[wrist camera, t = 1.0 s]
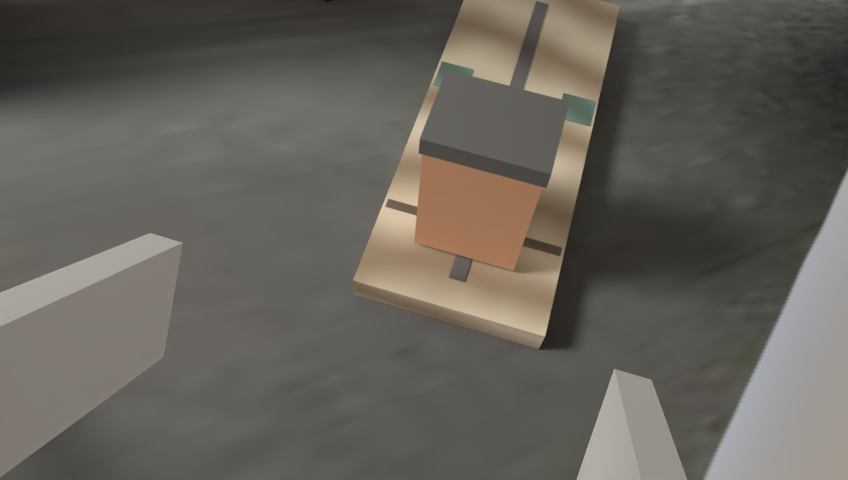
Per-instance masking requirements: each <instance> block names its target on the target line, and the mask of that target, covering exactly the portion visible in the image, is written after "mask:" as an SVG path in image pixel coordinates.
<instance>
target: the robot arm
mask: <svg viewBox="0 0 848 480" xmlns="http://www.w3.org/2000/svg"><path fill="white" fill-rule="evenodd" d="M181 249H182V242H178V241H175V240H171V239H168V238H165V237H161V236H158V235H154V234H151V233H149V234H147V235H144V236H142V237H139V238H137V239H134V240H132V241H129V242H127V243H124V244H122V245H119V246H117V247H114V248H112V249H109V250H107V251H104V252H102V253H99V254H97V255H94V256H91V257H89V258H86V259H84V260H81V261H79V262H76V263H74V264H71V265H69V266H66V267H64V268H61V269H59V270H56V271H54V272H51V273H49V274H46V275H44V276H41V277H39V278H36V279H34V280H31V281H29V282H26V283H23V284H21V285H18V286H16V287H13V288H11V289H8V290H6V291H3V292H1V293H0V477H1V476H2V475H4V474H5V473H7V472H8V471H9V470H11V469H12V468H13V467H15V466H16V465H17V464H19V463H20V462H22V461H23V460H24V459H26V458H27V457H28V456H30V455H31V454H32V453H34V452H35V451H36V450H38V449H39V448H41V447H42V446H43V445H45V444H46V443H47V442H49V441H50V440H51V439H53V438H54V437H55V436H57V435H58V434H60V433H61V432H62V431H64V430H65V429H66V428H68V427H69V426H70V425H72V424H73V423H74V422H76V421H77V420H79V419H80V418H81V417H83V416H84V415H85V414H87V413H88V412H89V411H91V410H92V409H93V408H95V407H96V406H98V405H99V404H100V403H102V402H103V401H104V400H106V399H107V398H108V397H110V396H111V395H112V394H114V393H115V392H117V391H118V390H119V389H121V388H122V387H123V386H125V385H126V384H127V383H129V382H130V381H131V380H133V379H134V378H136V377H137V376H138V375H140V374H141V373H142V372H144V371H145V370H146V369H148V368H149V367H151V366H152V365H153V364H155V363H156V362H157V361H159V360H160V359H161V358H163V357H164V351H165V345H166V339H167V333H168V327H169V321H170V315H171V309H172V303H173V297H174V291H175V285H176V279H177V273H178V267H179V261H180V255H181ZM577 480H687V478H686V476H685V473H684V470H683V467H682V464H681V462H680V459H679V456H678V453H677V450H676V448H675V445H674V442H673V439H672V436H671V433H670V431H669V428H668V425H667V422H666V419H665V417H664V414H663V411H662V408H661V405H660V403H659V400H658V397H657V394H656V391H655V389H654V386H653V383H652V380H650V379H647V378H643V377H640V376H636V375H633V374H630V373H626V372H623V371H619V370H616V369H614V372H613V375H612V377H611V380H610V383H609V386H608V389H607V392H606V395H605V398H604V401H603V404H602V407H601V410H600V413H599V416H598V418H597V421H596V424H595V427H594V430H593V433H592V436H591V439H590V442H589V445H588V448H587V451H586V454H585V457H584V460H583V462H582V465H581V468H580V471H579V474H578V477H577Z"/></svg>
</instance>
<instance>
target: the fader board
mask: <svg viewBox="0 0 848 480" xmlns="http://www.w3.org/2000/svg"><path fill="white" fill-rule="evenodd" d="M619 9H620V5H616V4H612V3H608V2H604V1H600V0H464V1H463V3H462V6H461V8H460V11H459V13H458V16H457V18H456V21H455V24H454V26H453V29H452V31H451V34H450V36H449V39H448V41H447V44H446V46H445V49H444V51H443V54H442V56H441V59H440V62H439V64H438V67H437V69H436V72H435V74H434V77H433V79H432V82H431V84H430V87H429V89H428V92H427V94H426V97H425V100H424V102H423V105H422V107H421V110H420V112H419V115H418V117H417V120H416V122H415V125H414V127H413V130H412V132H411V135H410V138H409V140H408V143H407V145H406V148H405V150H404V153H403V155H402V158H401V160H400V163H399V165H398V168H397V170H396V173H395V176H394V178H393V181H392V183H391V186H390V188H389V191H388V193H387V196H386V198H385V201H384V203H383V206H382V208H381V211H380V213H379V216H378V219H377V221H376V224H375V226H374V229H373V231H372V234H371V236H370V239H369V241H368V244H367V246H366V249H365V251H364V254H363V257H362V259H361V262H360V264H359V267H358V269H357V272H356V274H355V277H354V279H353V287H354V295H356V296H359V297H363V298H366V299H370V300H373V301H376V302H380V303H383V304H386V305H390V306H393V307H397V308H400V309H403V310H407V311H410V312H414V313H417V314H420V315H424V316H427V317H430V318H434V319H437V320H441V321H444V322H447V323H451V324H454V325H457V326H461V327H464V328H468V329H471V330H474V331H478V332H481V333H485V334H488V335H491V336H495V337H498V338H501V339H505V340H508V341H512V342H515V343H518V344H522V345H525V346H528V347H532V348H535V349H539V348H540V346H541V344H542V342H543V340H544V338H545V335H546V331H547V326H548V322H549V318H550V313H551V309H552V304H553V300H554V296H555V291H556V287H557V282H558V278H559V273H560V269H561V265H562V260H563V256H564V251H565V247H566V243H567V238H568V234H569V229H570V225H571V221H572V216H573V212H574V207H575V203H576V199H577V194H578V190H579V185H580V181H581V176H582V172H583V168H584V163H585V159H586V154H587V150H588V146H589V141H590V137H591V132H592V128H593V124H594V119H595V115H596V110H597V106H598V101H599V97H600V93H601V88H602V84H603V79H604V75H605V71H606V66H607V62H608V57H609V53H610V49H611V44H612V40H613V35H614V31H615V26H616V22H617V18H618V13H619ZM446 70H450V71H454V72H458V73H462V74H466V75H470V76H473V77H477V78H481V79H485V80H489V81H493V82H496V83H500V84H504V85H508V86H512V87H516V88H519V89H523V90H527V91H531V92H535V93H539V94H542V95H546V96H550V97H554V98H558V99H562V100H566V101H569V102H570V103H569V107H568V111H567V115H566V118H565V122H564V126H563V130H562V134H561V138H560V142H559V146H558V150H557V154H556V158H555V162H554V166H553V170H552V174H551V177H550V179H549V182H548V185H547V188H544V187H542V190H541V193H540V196H539V199H538V202H537V205H536V208H535V210H534V213H533V216H532V219H531V222H530V225H529V228H528V231H527V234H526V237H525V239H524V242H523V245H522V248H521V251H520V254H519V257H518V260H517V263H516V265H515V268H514V271H512V270H509V269H505V268H502V267H498V266H495V265H491V264H488V263H484V262H481V261H477V260H474V259H470V258H467V257H463V256H460V255H456V254H453V253H450V252H446V251H443V250H439V249H436V248H432V247H429V246H425V245H422V244H418V243H415V242H414V239H415V228H416V217H417V207H418V196H419V185H420V174H421V163H422V154H419V142H420V137H421V134H422V132H423V129H424V126H425V124H426V121H427V119H428V116H429V113H430V111H431V108H432V106H433V103H434V100H435V98H436V95H437V93H438V90H439V87H440V85H441V82H442V80H443V77H444V75H445V72H446Z"/></svg>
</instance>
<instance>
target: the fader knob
mask: <svg viewBox="0 0 848 480" xmlns="http://www.w3.org/2000/svg"><path fill="white" fill-rule="evenodd" d="M569 103H570V102H569V101H566V100H562V99H558V98H554V97H550V96H546V95H542V94H539V93H535V92H531V91H527V90H523V89H519V88H516V87H512V86H508V85H504V84H500V83H496V82H493V81H489V80H485V79H481V78H477V77H473V76H470V75H466V74H462V73H458V72H454V71H450V70H446V72H445V75H444V77H443V80H442V82H441V85H440V87H439V90H438V93H437V95H436V98H435V100H434V103H433V106H432V108H431V111H430V113H429V116H428V119H427V121H426V124H425V126H424V129H423V132H422V134H421V137H420V142H419V154H422V163H421V174H420V185H419V196H418V207H417V217H416V228H415V239H414V242H415V243H418V244H422V245H425V246H429V247H432V248H436V249H439V250H443V251H446V252H450V253H453V254H456V255H460V256H463V257H467V258H470V259H474V260H477V261H481V262H484V263H488V264H491V265H495V266H498V267H502V268H505V269H509V270H512V271H514V268H515V265H516V263H517V260H518V257H519V254H520V251H521V248H522V245H523V242H524V239H525V237H526V234H527V231H528V228H529V225H530V222H531V219H532V216H533V213H534V210H535V208H536V205H537V202H538V199H539V196H540V193H541V190H542V187H544V188H547V185H548V182H549V179H550V177H551V174H552V170H553V166H554V162H555V158H556V154H557V150H558V146H559V142H560V138H561V134H562V130H563V126H564V122H565V118H566V115H567V111H568V107H569Z"/></svg>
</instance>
